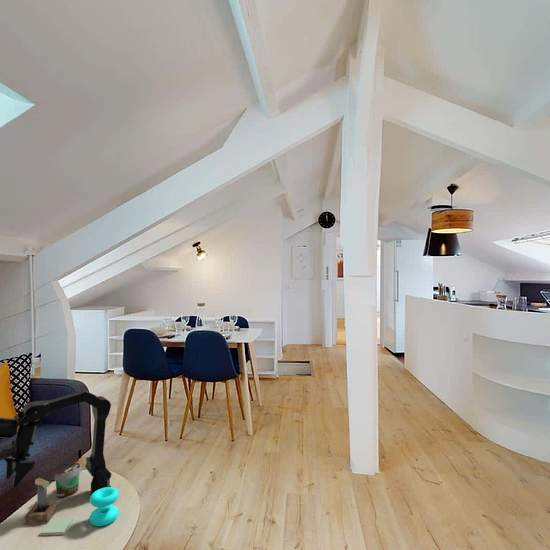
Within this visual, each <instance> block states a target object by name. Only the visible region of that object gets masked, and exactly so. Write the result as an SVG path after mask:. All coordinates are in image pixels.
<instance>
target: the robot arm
mask: <svg viewBox="0 0 550 550" xmlns="http://www.w3.org/2000/svg"><path fill="white" fill-rule="evenodd" d="M84 402H85V403H86V404H88V405H89V406H91V408H92V410H91V411H92V414H93V418H94V419H93V420H94V421H93V422H94V423H93V433H92V446H91V454H90V455H89V456H88V457H86V458H85V462H86V464H85V466H84V467H85V469H86V470H87V472H88V473H89V474H90V475H91V477H92V479H91V482H90V494H89V495H90V497H91V495H92V494H93V493H94V492H95V491H97V490H99V489H101V488H105V487H112V485H111V477H112V472H110V470H109V469H108V468H107V466H106V460H105V456H104V446H105V436H106V435H105V434H106V424H107V423H106V422H107V419H108V417H109V415H110V411H111V407H112V403H111V401H110V400H109V399H107V398H105V396H102V395H100V396H98V395H95V394H93V393H92V392H90V391H88V390H87V389H81V390H80V391H76V392H73V393H70V394H66V395H63V396H59V397H56V398H53V399H49V400H48V399H47V400H36V401H30V402H27V403H26V404H25V405H24V406H23V408H22V410H20V411H19V412H18V413H17V414H15V415H14V416H13V418H9V417H6V418H5V417H0V439H11V438H12V437H14V436H15V438H13V439H12V440H11V442H10V443H9V444H5V445H2V446H0V461H2V460H4V462H5V463H6V464H5V466H6V467H5V479H6V480H10V478H11V477H12V475H13V481H12V488H17V487H18V485H19V484H20V483H21V482H22V480H23V479H24V478H25V477H26V476H27V474H28V473H29V472H30V471H32V470H33V469H34V468H35V465H36V462H35V460H34V459H33V458H31V452H30V450H31V446H33V445H34V441H33V440H34V435H35V434H36V429H37V427H43V426H44V424H43V423H42V421H41V419H42V418H44V417H46V416H47V415H49V414H50V413H52V412H55V411H58V410H62V409H65V408H68V407H71V406H74V405H77V404H81V403H84ZM13 473H14V474H13Z"/></svg>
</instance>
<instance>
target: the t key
mask: <svg viewBox="0 0 550 550" xmlns="http://www.w3.org/2000/svg"><path fill="white" fill-rule="evenodd" d="M34 484H35V485H37V492H36V493H37V500H36V503H37V512H45V511H46V502H47V498H48V497H47V494H48V493H47V491H48V489H47V488H48V487H50V481H48V480H46V479H43V478H41V477H38V478H36V479H35V481H34Z"/></svg>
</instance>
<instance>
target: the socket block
mask: <svg viewBox="0 0 550 550" xmlns="http://www.w3.org/2000/svg"><path fill="white" fill-rule="evenodd" d="M58 511H59V502H58V501H54V502H53V501H51V502H46V511H45V512H37V502H36V503H35V504H34V505H33V506H32V507H31V508H30V509H29V510H28V511H27V512H26V514H25V515H24V524H25V525H27V524H28V525H29V524H31V525H32V524H48V522H49V521H50V520H51V519H52V518H53V517H54V515H55V514H56V513H57V512H58Z"/></svg>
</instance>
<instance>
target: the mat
mask: <svg viewBox="0 0 550 550" xmlns="http://www.w3.org/2000/svg"><path fill="white" fill-rule="evenodd" d="M74 521H75V517H56V518H53V517H52V518H51V519H50V520H49V522H48V523H46V525H45V526H44V527H43V529H42V530H41V531H40V532H39V535H40V537H42V536H64V535H65V533H67V531H68V530H69V528H70V526H71V525H72V523H73V522H74Z"/></svg>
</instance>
